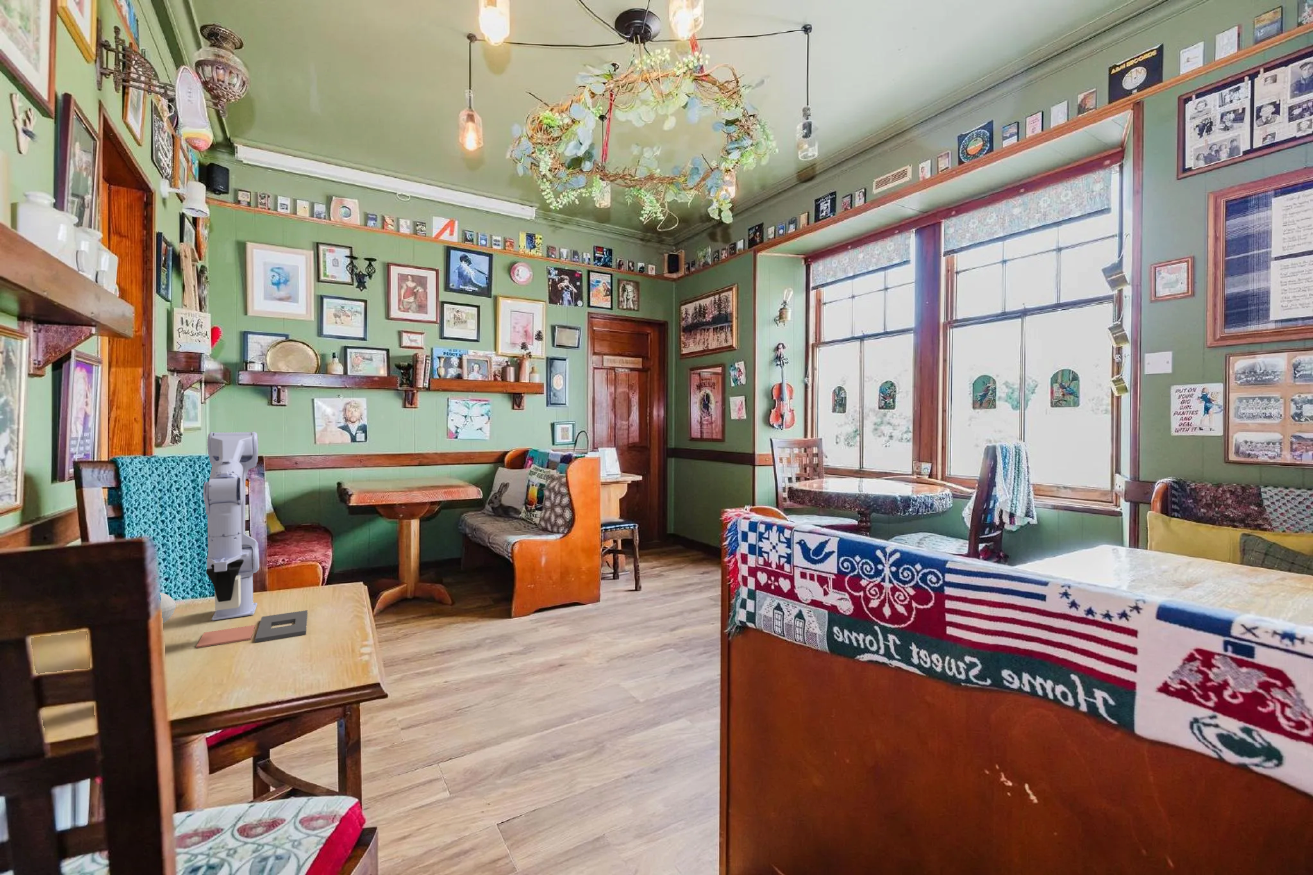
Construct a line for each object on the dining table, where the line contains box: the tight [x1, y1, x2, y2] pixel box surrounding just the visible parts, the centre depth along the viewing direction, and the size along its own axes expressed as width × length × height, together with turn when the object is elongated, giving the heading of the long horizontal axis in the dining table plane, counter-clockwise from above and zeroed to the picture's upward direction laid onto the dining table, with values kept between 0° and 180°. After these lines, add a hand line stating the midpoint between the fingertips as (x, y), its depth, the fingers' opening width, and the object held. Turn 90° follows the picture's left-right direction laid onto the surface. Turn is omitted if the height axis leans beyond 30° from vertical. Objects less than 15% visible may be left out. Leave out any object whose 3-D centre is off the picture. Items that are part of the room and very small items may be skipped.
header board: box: [254, 609, 308, 643], centre depth 128 cm, size 16×9×1 cm, turn 30°
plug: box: [214, 575, 241, 612], centre depth 122 cm, size 4×4×6 cm
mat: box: [195, 624, 256, 649], centre depth 122 cm, size 9×9×1 cm
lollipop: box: [159, 592, 177, 624], centre depth 103 cm, size 6×6×15 cm
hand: (226, 598), depth 122 cm, fingers closed on plug, 4 cm apart
